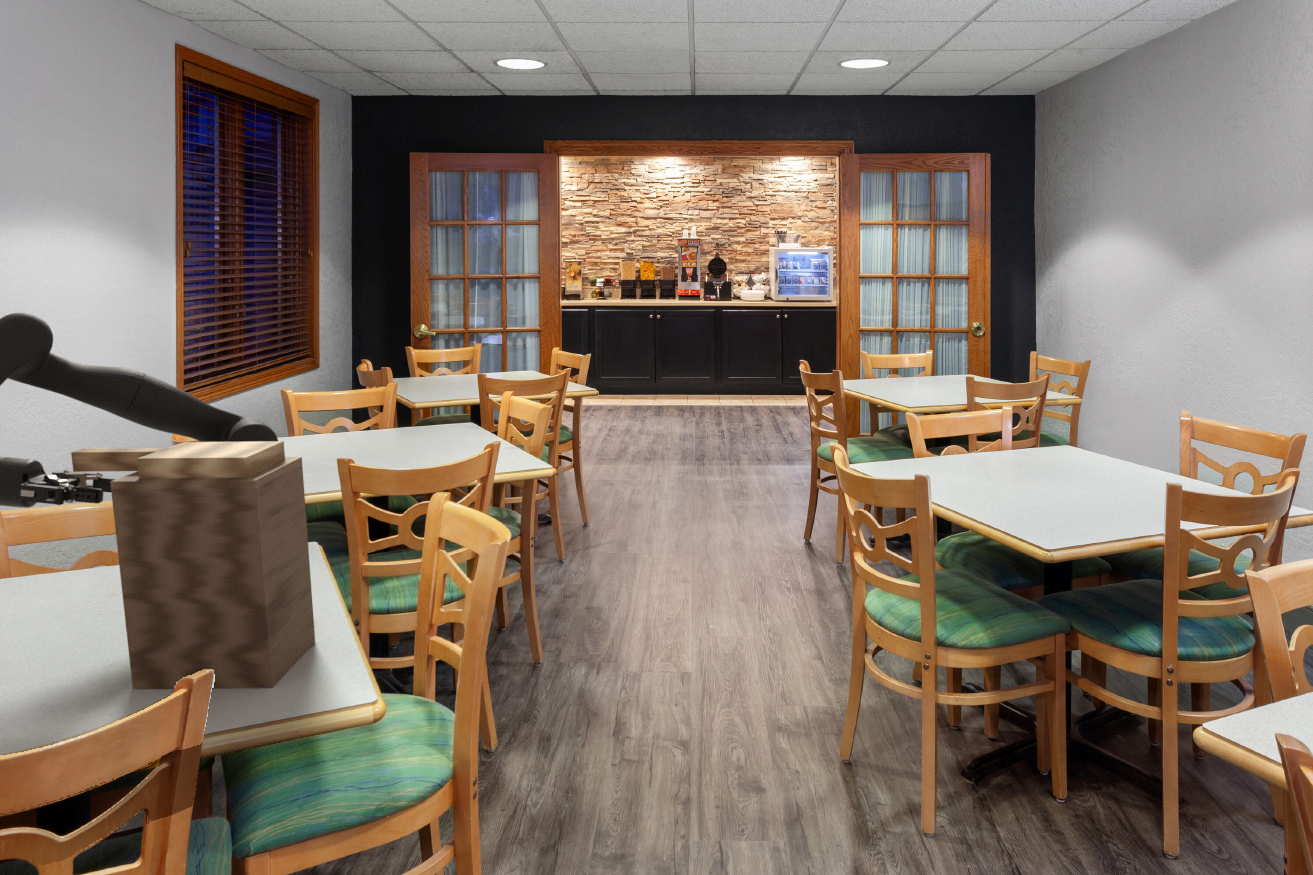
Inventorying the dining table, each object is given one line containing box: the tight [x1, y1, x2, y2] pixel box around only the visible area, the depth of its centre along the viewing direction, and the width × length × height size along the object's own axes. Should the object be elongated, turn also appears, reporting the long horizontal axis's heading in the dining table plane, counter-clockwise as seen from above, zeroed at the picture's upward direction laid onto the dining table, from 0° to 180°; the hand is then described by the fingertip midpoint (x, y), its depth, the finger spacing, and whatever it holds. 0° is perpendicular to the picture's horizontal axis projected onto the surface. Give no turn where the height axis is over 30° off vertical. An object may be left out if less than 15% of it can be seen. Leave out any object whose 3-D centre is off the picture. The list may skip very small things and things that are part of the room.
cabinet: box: [110, 456, 316, 690], centre depth 145 cm, size 21×18×32 cm
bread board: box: [70, 440, 286, 478], centre depth 142 cm, size 29×14×3 cm, turn 90°
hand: (114, 491), depth 145 cm, fingers open, 8 cm apart
